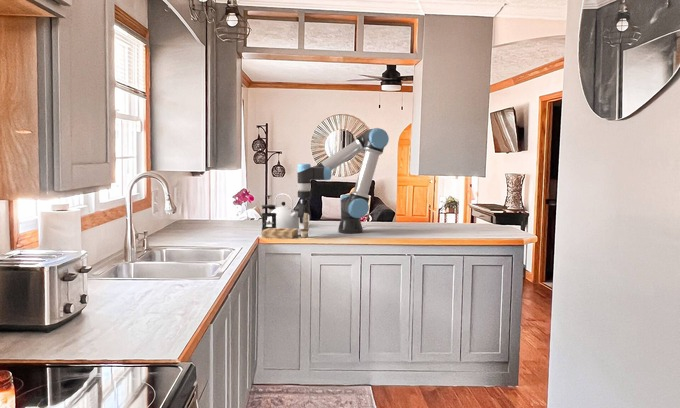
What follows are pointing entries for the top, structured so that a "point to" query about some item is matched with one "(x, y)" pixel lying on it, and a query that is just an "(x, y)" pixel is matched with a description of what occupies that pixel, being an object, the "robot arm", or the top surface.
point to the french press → (268, 216)
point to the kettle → (285, 216)
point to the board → (280, 233)
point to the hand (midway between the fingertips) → (304, 227)
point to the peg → (305, 227)
